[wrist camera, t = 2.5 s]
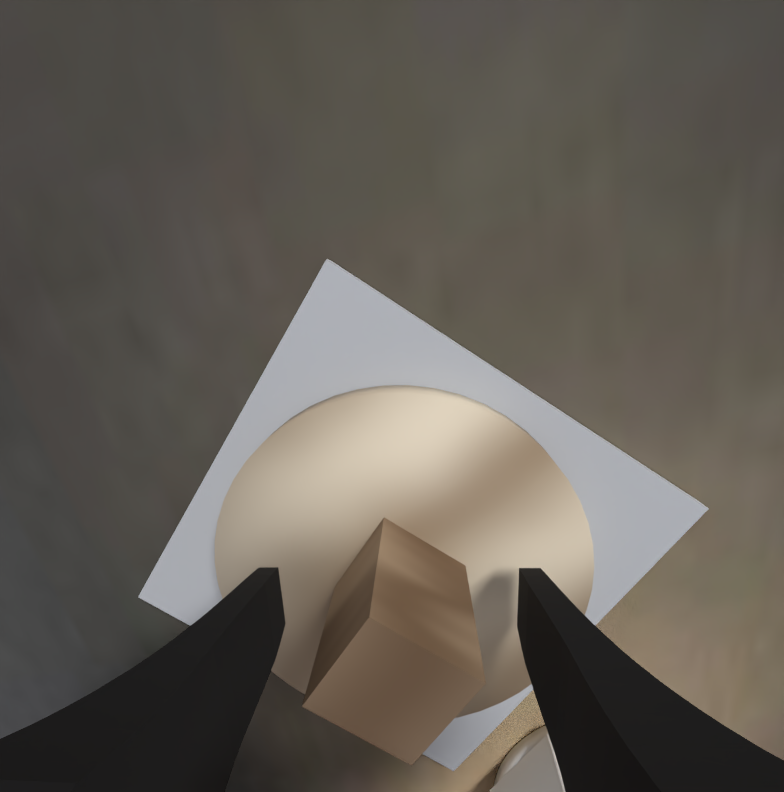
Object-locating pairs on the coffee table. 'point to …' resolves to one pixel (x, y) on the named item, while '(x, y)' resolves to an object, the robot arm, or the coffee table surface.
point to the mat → (435, 368)
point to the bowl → (530, 766)
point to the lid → (402, 555)
